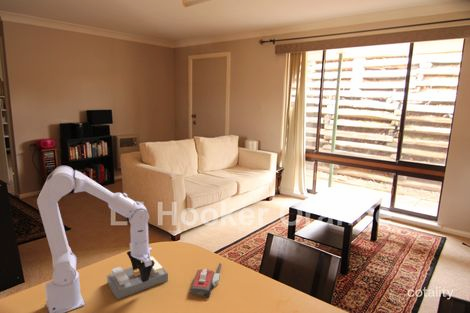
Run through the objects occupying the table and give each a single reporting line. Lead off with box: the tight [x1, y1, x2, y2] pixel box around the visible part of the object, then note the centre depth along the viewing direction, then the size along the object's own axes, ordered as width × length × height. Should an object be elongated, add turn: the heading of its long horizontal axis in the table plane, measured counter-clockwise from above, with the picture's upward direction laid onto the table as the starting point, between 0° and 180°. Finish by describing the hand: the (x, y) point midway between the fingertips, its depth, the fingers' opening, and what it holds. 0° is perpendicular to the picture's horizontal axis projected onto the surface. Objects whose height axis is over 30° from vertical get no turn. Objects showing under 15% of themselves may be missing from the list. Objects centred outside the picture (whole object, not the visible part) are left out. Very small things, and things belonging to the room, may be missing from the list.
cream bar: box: [150, 256, 164, 273], centre depth 113 cm, size 3×9×1 cm, turn 38°
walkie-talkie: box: [190, 262, 222, 298], centre depth 112 cm, size 9×4×20 cm
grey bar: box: [111, 266, 129, 285], centre depth 105 cm, size 3×9×1 cm, turn 38°
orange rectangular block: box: [133, 269, 140, 277], centre depth 109 cm, size 3×2×2 cm, turn 128°
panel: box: [106, 266, 169, 301], centre depth 110 cm, size 18×11×3 cm, turn 128°
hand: (140, 275), depth 107 cm, fingers open, 7 cm apart
